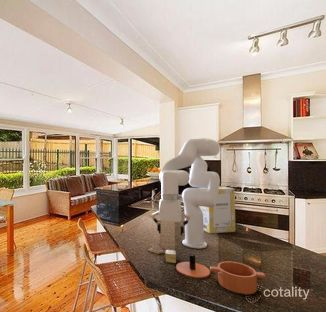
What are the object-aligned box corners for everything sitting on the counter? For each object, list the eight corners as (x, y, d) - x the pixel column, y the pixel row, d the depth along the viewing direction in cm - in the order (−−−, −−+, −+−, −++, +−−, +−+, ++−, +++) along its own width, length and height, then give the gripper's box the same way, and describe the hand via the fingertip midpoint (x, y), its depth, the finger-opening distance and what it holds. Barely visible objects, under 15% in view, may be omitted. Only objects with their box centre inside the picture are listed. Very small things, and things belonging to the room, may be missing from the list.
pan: (208, 274, 97) (208, 258, 97) (259, 281, 91) (258, 264, 91) (213, 290, 85) (212, 272, 85) (271, 299, 79) (270, 280, 79)
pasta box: (209, 233, 148) (208, 189, 148) (199, 228, 158) (198, 187, 159) (235, 231, 150) (234, 188, 151) (224, 226, 161) (223, 186, 161)
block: (166, 258, 112) (165, 249, 113) (176, 260, 111) (175, 250, 111) (165, 262, 108) (165, 253, 108) (176, 264, 107) (175, 254, 107)
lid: (176, 262, 109) (175, 247, 109) (207, 266, 104) (207, 250, 104) (176, 276, 96) (175, 259, 96) (212, 281, 91) (211, 263, 91)
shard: (158, 245, 129) (158, 242, 129) (171, 249, 123) (171, 246, 123) (147, 251, 121) (147, 248, 121) (161, 256, 116) (161, 252, 116)
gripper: (189, 196, 110) (189, 233, 110) (151, 195, 116) (152, 229, 115) (190, 199, 103) (190, 238, 103) (150, 197, 109) (150, 234, 108)
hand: (170, 233), depth 109 cm, fingers open, 9 cm apart
